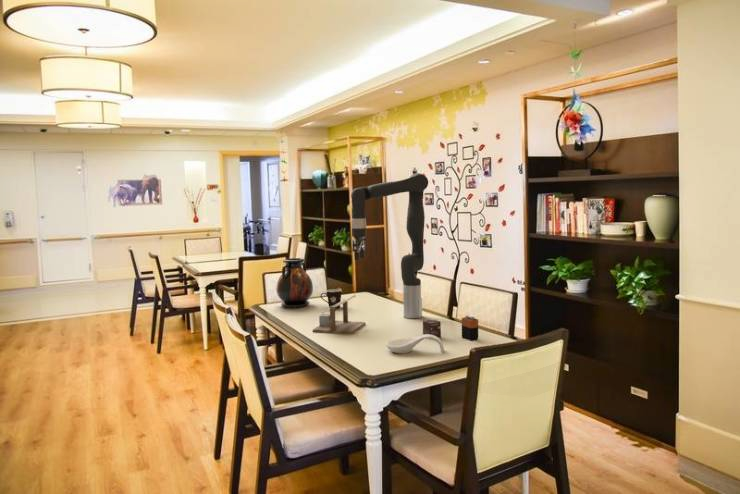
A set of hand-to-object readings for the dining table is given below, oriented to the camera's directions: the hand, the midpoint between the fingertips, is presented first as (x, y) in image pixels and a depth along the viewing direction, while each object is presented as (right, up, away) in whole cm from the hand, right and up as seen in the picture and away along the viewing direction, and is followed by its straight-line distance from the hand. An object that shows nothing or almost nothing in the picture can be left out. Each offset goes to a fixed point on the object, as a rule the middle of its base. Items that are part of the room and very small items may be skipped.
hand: (359, 258), depth 281 cm
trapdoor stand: (-10, -34, -12) cm, 37 cm away
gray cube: (-14, -30, -11) cm, 35 cm away
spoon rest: (+24, -37, -55) cm, 70 cm away
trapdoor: (-10, -22, -14) cm, 27 cm away
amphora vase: (-39, -29, +44) cm, 66 cm away
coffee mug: (-16, -29, +38) cm, 51 cm away
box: (+33, -35, -32) cm, 58 cm away
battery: (+50, -35, -37) cm, 71 cm away
